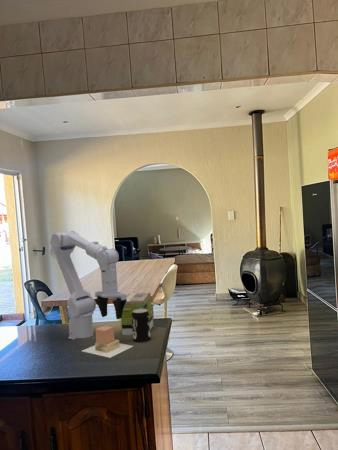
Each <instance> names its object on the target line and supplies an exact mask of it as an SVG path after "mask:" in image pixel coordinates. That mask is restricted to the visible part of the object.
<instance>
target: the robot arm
mask: <svg viewBox="0 0 338 450" xmlns="http://www.w3.org/2000/svg"><path fill="white" fill-rule="evenodd" d="M49 243H50V245H51V248H52V251H53V253H54V255H55V258H56V260H57V264H58V267H59V269H60V271H61V274H62V277H63V279H64V281H65V284H66V286H67V288H68V291H69V294H70V295H69V297H68V299H67V305H68V312H69V314H70V317H69V320H68V329H69V330H68V333H69V336H67V338H68V339H69V340H76V339H86V338H87V339H88V338H91V337H93V336H94V323H93V322H94V321H93V315H94V311H95V310H96V308H98V309H99V312H100V316H101V317H102V318H104V317H107V316H108V303H109V299H113V300H112V304H113V306H114V310H115V318H116V320H121V318H122V313H123V309H124V306H125V303H126V301H127V298H126V296H127V293H122V292H120V291H119V290H118V273H117V263H118V262H119V260H120V258H119V257H120V256H119V252H118V251H117V250H116V249H115V248H107V246H103V245H102V244H100V243H99V241H96V240H94V241H91V242H90V241H88V240H87V239H85V238H83V236H81V235H80V234H79V232H76V231H74V230H71V231H62V232H58V231H57V232H54V233H52V234H51V238H50V242H49ZM76 247H77V248H80V249H82V250H84V251H85V254H86V255H87V256H89V257H91V258H93V259H94V260H96V262H97V264H98V266H99V270H100V274H101V275H100V276H101V291H99V290H98V291H95V292H94V298H96V299H94V298H93V296H92V295H91V293H90V292H89V291H88V290H84V287H83V285H82V282H81V280H80V278H79V275H78V272H77V270H76V268H75V265H74V263H73V260H72V258H71V254H72V253H73V252H74V250H75V249H76Z"/></svg>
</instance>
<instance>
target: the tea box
mask: <svg viewBox="0 0 338 450" xmlns="http://www.w3.org/2000/svg"><path fill="white" fill-rule="evenodd" d="M151 296H152V295H151V292H135V293H134V292H133V293H128V294H126V298H127V301H126V303H125V306H124V309H123V313H122V318H120V320H121V323H120V324H121V333H122V334H121V335H122V336H133V331H132V313H133V312H132V311H133V310H135V309H142V308H143V309H147V310H148V313H149V322H150V331H151V330H152V328H153V327H154V319H153V306H152V297H151Z"/></svg>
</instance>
